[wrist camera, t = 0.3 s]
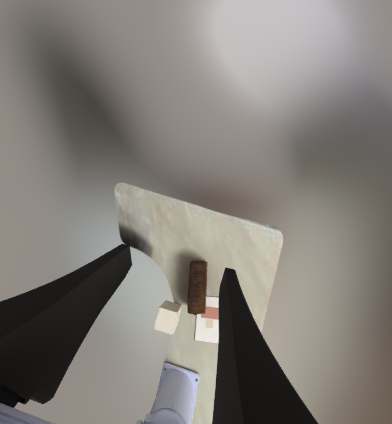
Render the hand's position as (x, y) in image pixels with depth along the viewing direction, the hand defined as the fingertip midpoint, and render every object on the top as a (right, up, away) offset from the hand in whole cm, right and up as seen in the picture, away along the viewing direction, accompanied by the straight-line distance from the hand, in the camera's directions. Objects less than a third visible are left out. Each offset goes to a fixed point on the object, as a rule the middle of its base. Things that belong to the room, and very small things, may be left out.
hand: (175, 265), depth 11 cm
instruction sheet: (+5, -21, +24) cm, 32 cm away
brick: (+2, -14, +26) cm, 29 cm away
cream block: (-4, -20, +25) cm, 32 cm away
